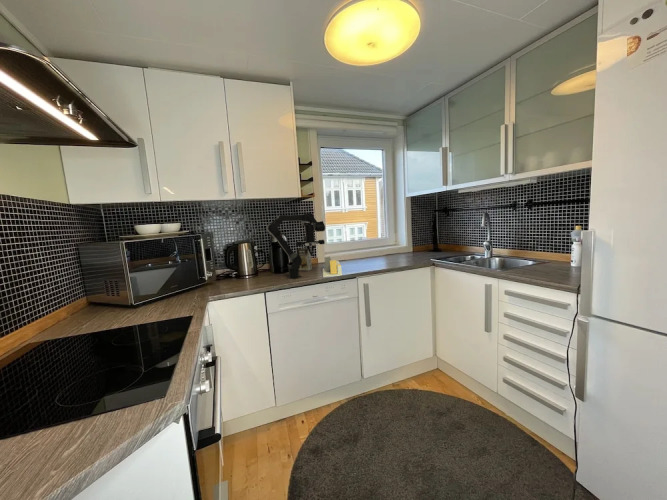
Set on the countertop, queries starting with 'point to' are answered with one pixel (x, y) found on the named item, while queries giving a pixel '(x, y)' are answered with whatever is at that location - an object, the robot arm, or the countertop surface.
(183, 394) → the countertop surface
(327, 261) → the charcoal key middle
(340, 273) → the key console
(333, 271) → the ochre key
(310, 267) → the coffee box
